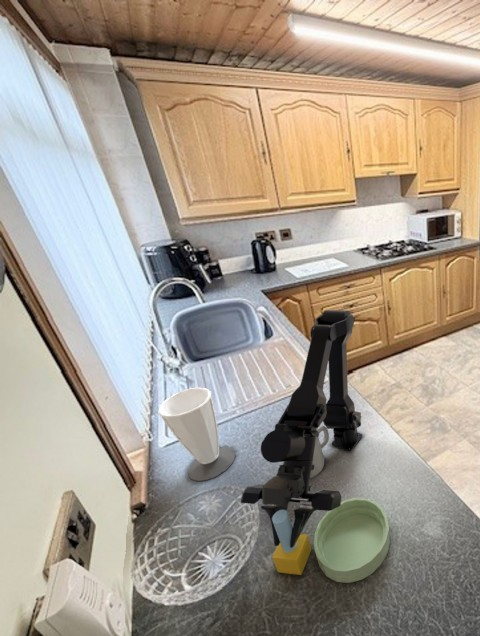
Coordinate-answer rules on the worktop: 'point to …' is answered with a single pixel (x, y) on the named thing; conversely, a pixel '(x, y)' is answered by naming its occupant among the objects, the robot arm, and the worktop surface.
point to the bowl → (352, 540)
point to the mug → (319, 452)
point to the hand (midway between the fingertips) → (284, 546)
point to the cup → (197, 431)
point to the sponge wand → (284, 555)
